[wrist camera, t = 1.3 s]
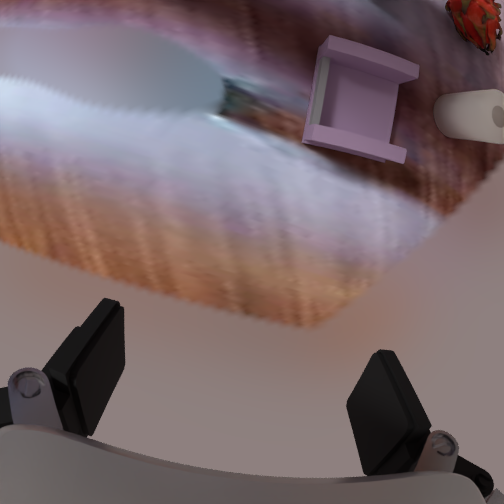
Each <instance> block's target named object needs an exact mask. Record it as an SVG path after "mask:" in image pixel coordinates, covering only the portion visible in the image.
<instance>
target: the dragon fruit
mask: <svg viewBox="0 0 504 504" xmlns="http://www.w3.org/2000/svg"><path fill="white" fill-rule="evenodd" d="M499 8H501V4H499V3H495V2H494V0H448V1H447V3H446V6H445V9H446V10H447V11H449V12H450V11H451V12H452V16H453V19H454V24H455V26H456V30H457V31H458V32H459V34H460V35H461V36H462V38H463V39H464V40H465V41H466V38H467V39H468V40H469V41H471V42H472V43H473V44H474V45H475V46H476V47H477V48H478V49H480V50H481V51H483V52H485V53H486V55H489V53H488V52H487V51H491V53H492V52H493V51H494V49H495V48H496V39H499V40H500V39H501V35H502V28H501V26H500V24H499V22H500V21H501V19H500V17H499V15H500V14H501V12H500V9H499ZM496 29H499V34H498V35H497V34H496ZM465 37H466V38H465ZM466 42H467V41H466ZM487 44H488V47H487V49H486V45H487ZM486 50H487V51H486Z"/></svg>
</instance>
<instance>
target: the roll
mask: <svg viewBox="0 0 504 504" xmlns="http://www.w3.org/2000/svg"><path fill="white" fill-rule="evenodd" d="M433 115H434V120H435V123H436V125H437V127H438V129H439V130H440V131H441V133H443V134H444V135H445V136H447V137H449V138H456V139H465V140H474V141H482V142H489V143H496V144H504V93H502V92H501V91H499V90H496V89H489V90H477V91H468V92H459V93H451V94H444V95H441V96H440V97H439V98H438V99H437V100H436V102H435V104H434V109H433Z"/></svg>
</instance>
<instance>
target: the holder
mask: <svg viewBox="0 0 504 504" xmlns="http://www.w3.org/2000/svg"><path fill="white" fill-rule="evenodd" d="M419 68H420V65H418V64H415V63H413V62H410V61H408V60H406V59H403V58H400V57H398V56H395V55H393V54H390V53H387V52H384V51H382V50H379V49H376V48H373V47H370V46H367V45H364V44H360V43H357V42H354V41H351V40H347V39H344V38H340V37H336V36H333V35H329V36H328V37H327V39H326V40H325V41H324V43H323V44H322V45H320V46H319V47H318V53H317V59H316V65H315V71H314V77H313V83H312V89H311V95H310V100H309V106H308V112H307V117H306V123H305V128H304V133H303V139H302V143H306V144H311V145H316V146H320V147H325V148H329V149H333V150H337V151H342V152H346V153H350V154H354V155H358V156H361V157H365V158H369V159H373V160H376V161H380V162H384V163H385V161H386V160H389V161H394V162H398V163H402V164H404V162H405V157H406V152H407V149H405V148H402V147H398V146H395V145H392V144H389V141H390V136H391V130H392V125H393V119H394V113H395V107H396V101H397V94H398V87H399V84H401V83H404V82H408V81H411V80H415V79H418V77H419Z"/></svg>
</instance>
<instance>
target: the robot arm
mask: <svg viewBox="0 0 504 504" xmlns="http://www.w3.org/2000/svg"><path fill="white" fill-rule="evenodd" d="M124 344H125V341H124V307H122V306H120V303H119V302H118V301H115V300H111V299H108V298H104V299H103V300H102V301H101V302H100V303H99V304H98V306H97V307H96V308H95V309H94V310H93V312H92V313H91V314H90V315H89V317H88V318H87V319H86V320H85V322H84V323H83V324H82V325H81V327H79V326H77V327H75V328H74V329H73V330H72V332H71V333H70V334H69V336H68V337H67V338H66V339H65V341H64V342H63V343H62V344H61V346H60V347H59V348H58V350H57V351H56V352H55V354H54V355H53V356H52V357H51V359H50V360H49V361H48V363H47V364H46V365H45V367H44V368H43V369H42V371H40V370H38V369H35V368H23V369H19V370H17V371H16V372H14V373H13V374H12V375H11V376H10V378H9V381H8V387H4V388H0V504H504V495H503V494H502V493H501V492H500V491H499V490H498V489H497V488H496V489H495V490H493V487H494V483H493V479H492V477H491V476H490V474H489V473H488V472H486V471H485V470H484V469H482V468H480V467H478V466H476V465H474V464H473V463H471V462H469V461H467V460H466V459H464V458H462V457H460V456H459V455H458V451H459V446H458V443H457V441H456V440H455V438H454V437H453V436H452V435H451V434H449V433H448V432H445V431H442V430H436V431H433V432H432V433H431V432H430V430H429V429H430V427H431V423H430V421H429V419H428V417H427V415H426V413H425V411H424V409H423V407H422V405H421V403H420V401H419V399H418V397H417V395H416V393H415V391H414V389H413V387H412V385H411V383H410V381H409V379H408V377H407V375H406V373H405V371H404V369H403V367H402V366H401V364H400V362H399V360H398V358H397V356H396V354H395V353H394V351H391V350H381V349H380V350H378V351H377V352H376V353H374V354H373V355H372V356H371V358H370V360H369V362H368V364H367V366H366V368H365V370H364V372H363V374H362V375H361V377H360V379H359V381H358V382H357V384H356V386H355V388H354V390H353V391H352V393H351V395H350V396H349V398H348V400H347V405H346V407H347V411H348V415H349V419H350V422H351V426H352V430H353V434H354V438H355V441H356V445H357V449H358V453H359V457H360V461H361V465H362V469H363V472H364V474H365V475H367V476H363V477H345V478H292V477H274V476H259V475H250V474H241V473H233V472H225V471H218V470H212V469H206V468H200V467H194V466H190V465H184V464H180V463H175V462H170V461H166V460H162V459H158V458H154V457H150V456H146V455H142V454H138V453H135V452H131V451H128V450H124V449H121V448H117V447H114V446H111V445H107V444H105V443H102V442H99V441H96V440H93V439H89V438H87V436H88V435H89V436H92V435H93V433H94V431H95V429H96V427H97V425H98V423H99V420H100V418H101V416H102V414H103V412H104V410H105V407H106V405H107V403H108V401H109V399H110V397H111V395H112V393H113V391H114V389H115V387H116V384H117V382H118V380H119V378H120V376H121V374H122V372H123V370H124V366H125V345H124Z"/></svg>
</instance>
